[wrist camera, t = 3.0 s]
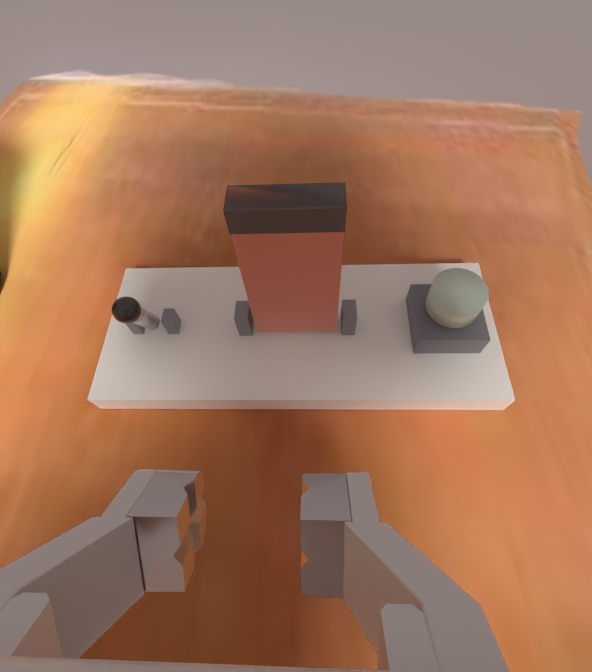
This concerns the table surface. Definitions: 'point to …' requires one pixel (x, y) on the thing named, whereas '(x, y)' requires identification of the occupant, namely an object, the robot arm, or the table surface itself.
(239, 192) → the paddle
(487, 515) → the table surface
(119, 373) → the control panel
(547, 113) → the table surface
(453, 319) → the push button
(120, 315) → the toggle lever
